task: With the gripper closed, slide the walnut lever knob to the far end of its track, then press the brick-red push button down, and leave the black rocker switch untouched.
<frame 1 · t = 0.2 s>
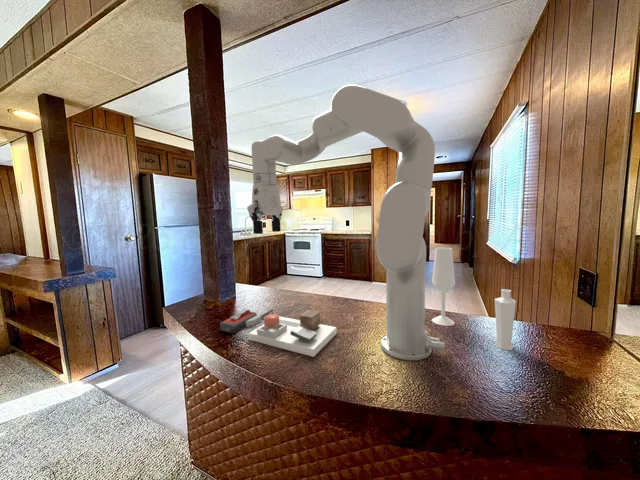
hand: (267, 232, 85), 31 cm above the countertop, tool pointing down, fingers open, 9 cm apart
control panel: (293, 336, 76), on the countertop
rocker switch: (303, 333, 69), point 4 cm above the countertop, hinge at -10.0°
perfume bottle: (505, 347, 66), on the countertop
walkie-talkie: (248, 323, 88), on the countertop
slider knob: (310, 319, 76), point 4 cm above the countertop, slide at 0.0 cm
champagne flute: (443, 321, 82), on the countertop
push button: (271, 320, 74), point 6 cm above the countertop, slide at 0.0 cm
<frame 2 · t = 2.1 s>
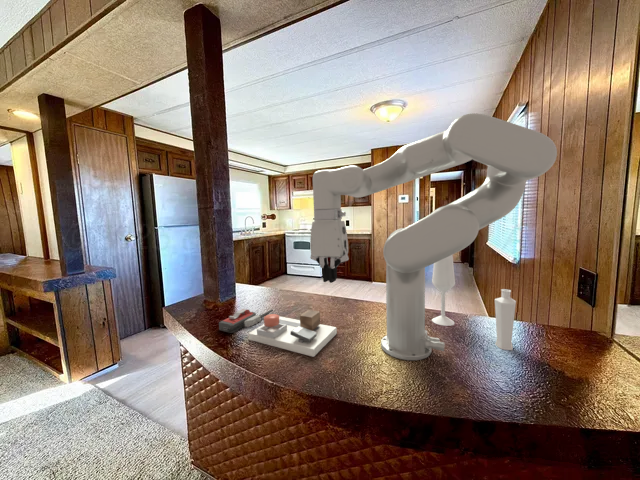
hand: (329, 280, 72), 17 cm above the countertop, tool pointing down, fingers closed
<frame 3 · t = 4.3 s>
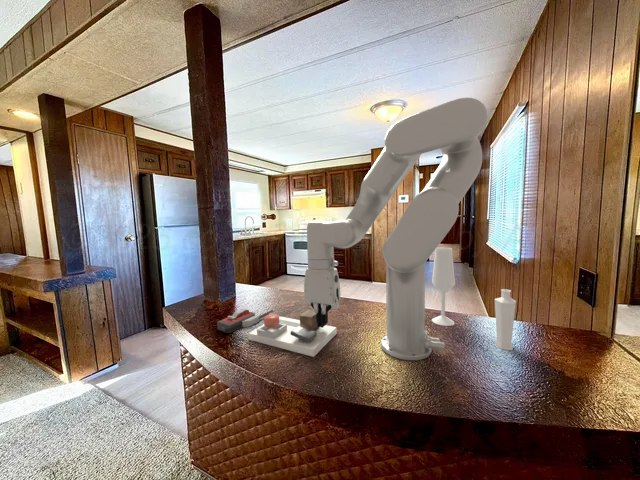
hand: (322, 325, 74), 4 cm above the countertop, tool pointing down, fingers closed
slider knob: (310, 319, 76), point 4 cm above the countertop, slide at 0.1 cm, touching gripper
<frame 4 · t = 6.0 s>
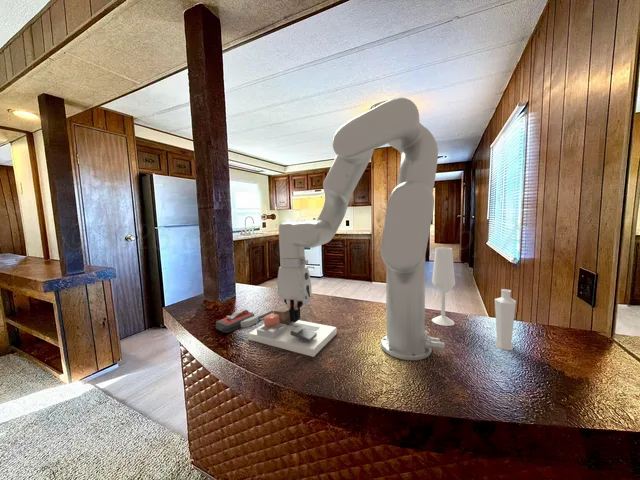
hand: (295, 320, 79), 3 cm above the countertop, tool pointing down, fingers closed
slider knob: (283, 314, 81), point 4 cm above the countertop, slide at 9.8 cm, touching gripper
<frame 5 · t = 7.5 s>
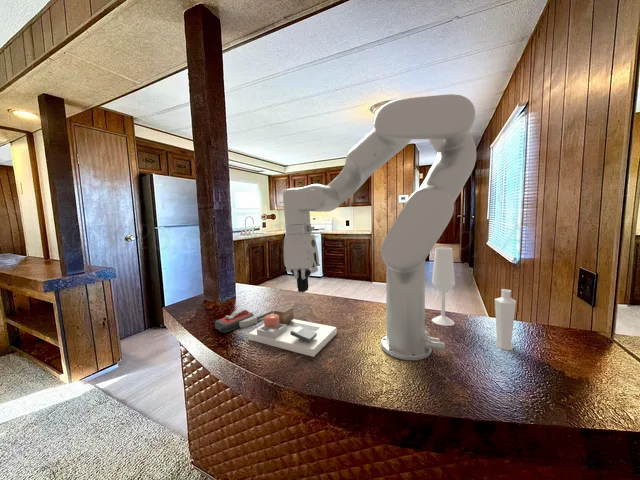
hand: (303, 290, 77), 13 cm above the countertop, tool pointing down, fingers closed
slider knob: (283, 314, 81), point 4 cm above the countertop, slide at 9.8 cm
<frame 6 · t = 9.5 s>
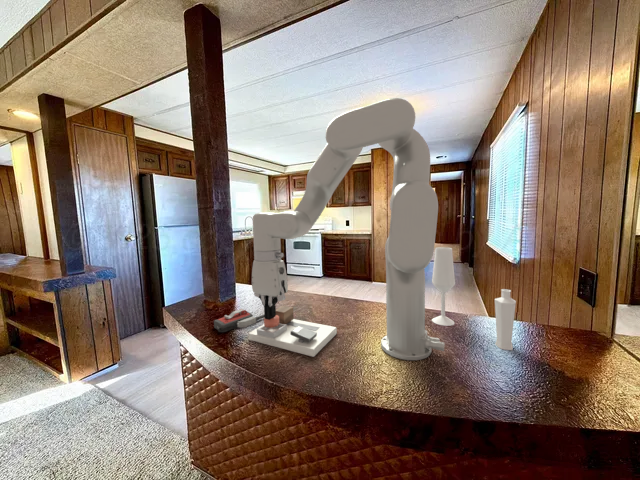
hand: (270, 317, 74), 6 cm above the countertop, tool pointing down, fingers closed
push button: (271, 320, 74), point 5 cm above the countertop, slide at 0.3 cm, touching gripper
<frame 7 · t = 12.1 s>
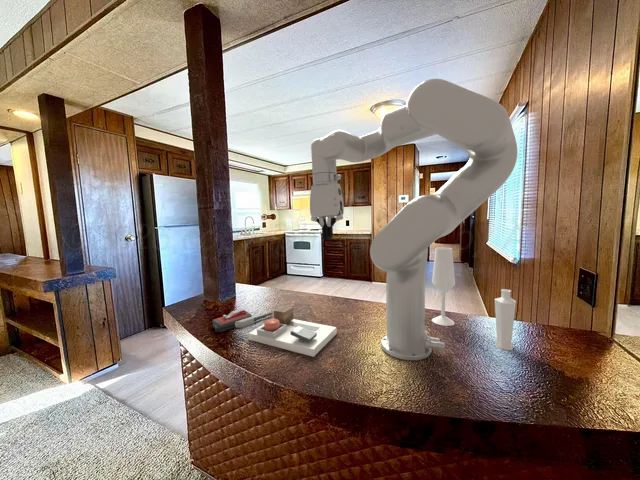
hand: (327, 239, 80), 28 cm above the countertop, tool pointing down, fingers closed
push button: (271, 325, 74), point 4 cm above the countertop, slide at 1.5 cm
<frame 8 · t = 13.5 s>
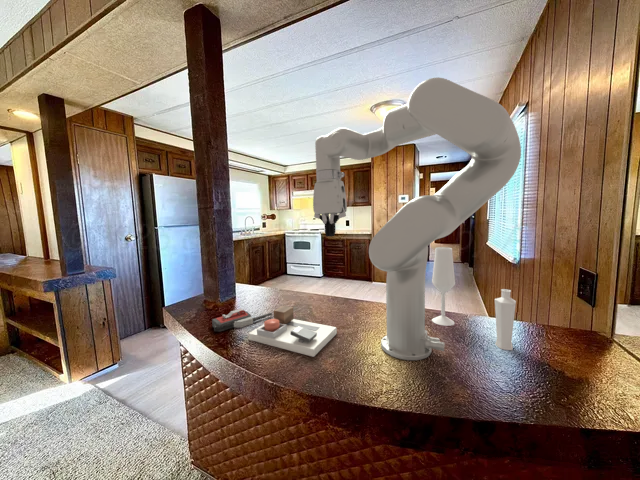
hand: (330, 236, 81), 29 cm above the countertop, tool pointing down, fingers closed
at the end: slider knob slide at 9.8 cm; push button slide at 1.5 cm; rocker switch at -10° (first picture: -10°) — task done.
